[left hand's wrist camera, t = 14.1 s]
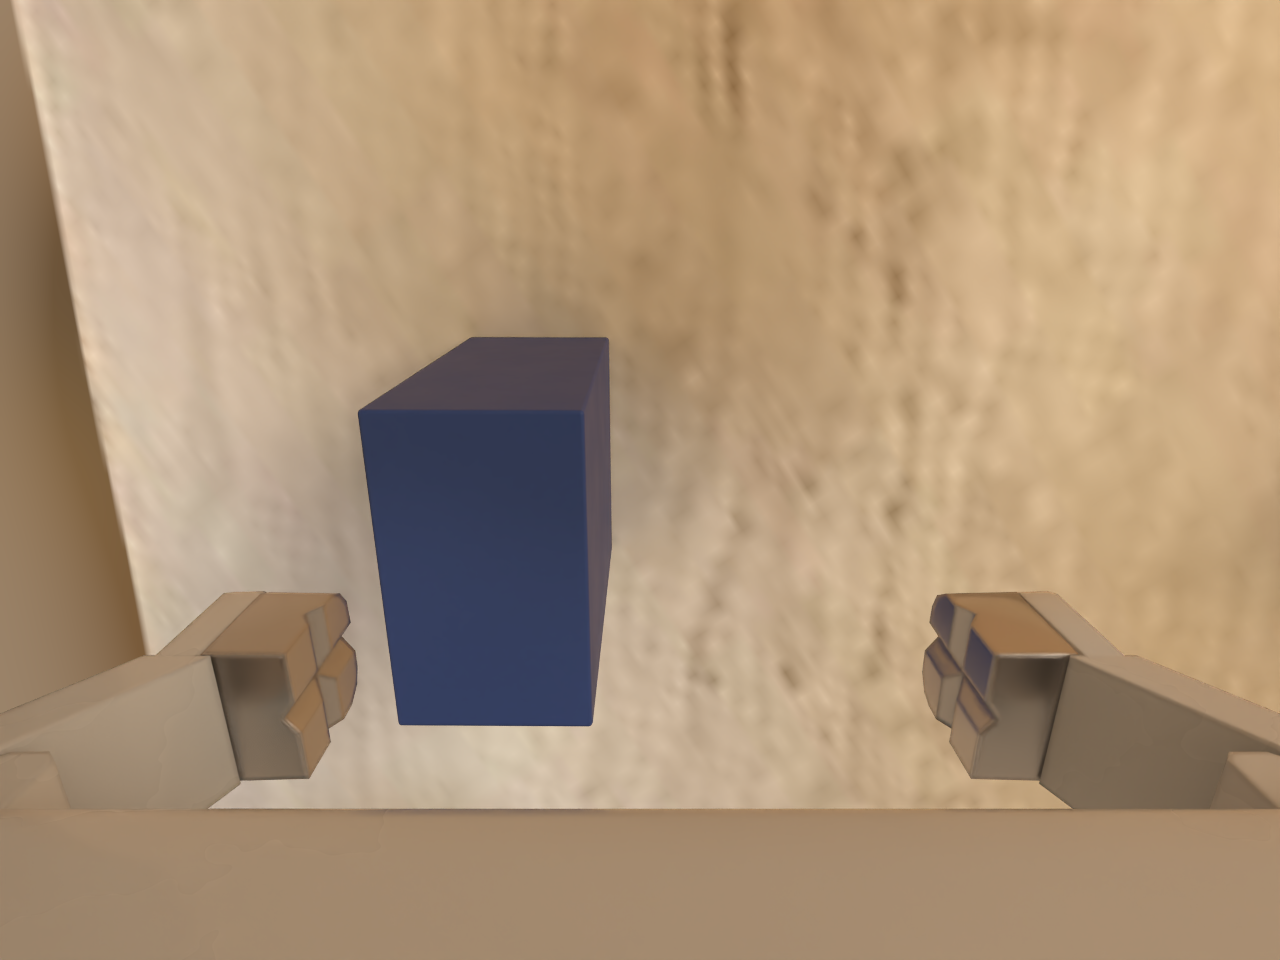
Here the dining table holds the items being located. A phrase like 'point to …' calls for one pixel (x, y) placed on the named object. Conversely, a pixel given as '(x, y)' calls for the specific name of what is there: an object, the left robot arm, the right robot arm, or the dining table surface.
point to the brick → (494, 530)
